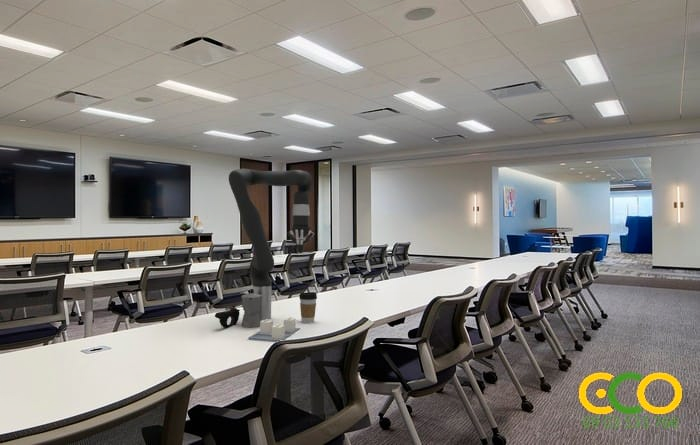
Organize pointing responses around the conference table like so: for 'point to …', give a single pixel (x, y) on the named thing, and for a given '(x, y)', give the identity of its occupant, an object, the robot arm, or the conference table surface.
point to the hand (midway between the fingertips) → (300, 252)
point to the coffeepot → (251, 310)
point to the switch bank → (270, 336)
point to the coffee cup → (308, 306)
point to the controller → (226, 314)
